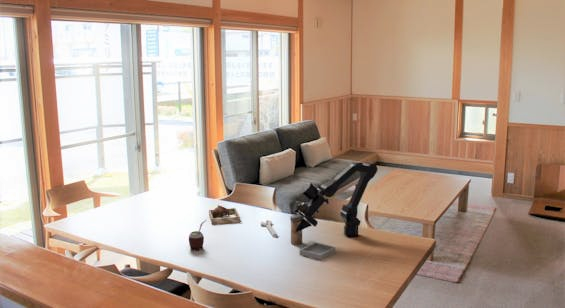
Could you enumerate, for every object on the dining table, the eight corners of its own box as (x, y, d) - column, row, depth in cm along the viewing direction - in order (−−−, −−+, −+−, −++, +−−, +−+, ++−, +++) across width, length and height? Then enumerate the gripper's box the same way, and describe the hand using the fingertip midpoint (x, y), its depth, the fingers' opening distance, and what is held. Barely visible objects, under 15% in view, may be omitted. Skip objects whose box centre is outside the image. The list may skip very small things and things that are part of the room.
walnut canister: (300, 240, 264) (300, 214, 262) (304, 244, 259) (304, 217, 256) (289, 241, 263) (289, 215, 261) (292, 245, 257) (292, 218, 255)
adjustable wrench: (278, 238, 269) (278, 235, 269) (265, 239, 268) (265, 236, 268) (271, 222, 293) (271, 219, 293) (259, 223, 292) (259, 220, 292)
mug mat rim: (235, 212, 311) (235, 208, 311) (240, 221, 295) (239, 216, 294) (209, 214, 308) (208, 209, 307) (211, 224, 291) (211, 218, 291)
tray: (314, 246, 255) (314, 242, 255) (335, 252, 248) (335, 247, 248) (299, 254, 245) (299, 249, 245) (320, 260, 238) (320, 255, 238)
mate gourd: (187, 247, 256) (186, 217, 253) (203, 245, 259) (202, 215, 256) (191, 252, 249) (190, 222, 247) (207, 250, 252) (206, 220, 250)
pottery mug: (210, 217, 305) (215, 204, 307) (225, 223, 307) (230, 210, 308) (211, 218, 294) (217, 204, 295) (227, 224, 295) (233, 210, 297)
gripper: (296, 190, 266) (276, 214, 265) (311, 200, 249) (290, 225, 247) (310, 204, 271) (291, 227, 269) (326, 214, 253) (305, 239, 252)
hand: (293, 229), depth 259 cm, fingers closed on walnut canister, 6 cm apart
